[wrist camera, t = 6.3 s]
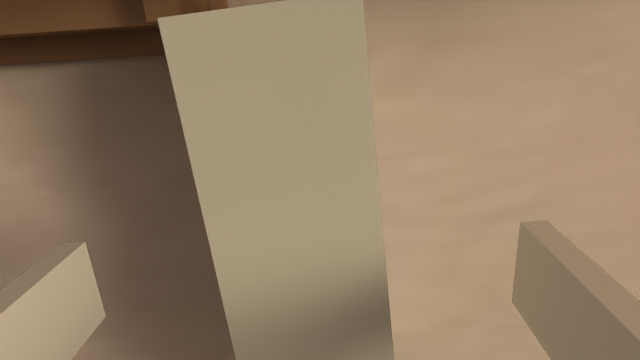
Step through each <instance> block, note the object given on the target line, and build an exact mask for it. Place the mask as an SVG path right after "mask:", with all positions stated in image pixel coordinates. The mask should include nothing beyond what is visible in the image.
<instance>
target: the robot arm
mask: <svg viewBox="0 0 640 360" xmlns="http://www.w3.org/2000/svg"><path fill="white" fill-rule="evenodd" d="M512 302H513V304H514V305H515V307H516V308H517V310H518V311H519V313H520V314H521V316H522V317H523V319H524V320H525V322H526V323H527V325H528V326H529V327H530V329H531V330H532V332H533V333H534V335H535V336H536V338H537V339H538V341H539V342H540V344H541V345H542V347H543V348H544V350H545V351H546V353H547V354H548V356H549V357H550V359H551V360H640V301H639V300H637V299H636V298H635V297H634V296H633V295H632V294H631V293H629V292H628V291H627V290H626V289H625V288H624V287H623V286H621V285H620V284H619V283H618V282H617V281H616V280H614V279H613V278H612V277H611V276H610V275H609V274H608V273H606V272H605V271H604V270H603V269H602V268H601V267H600V266H598V265H597V264H596V263H595V262H594V261H593V260H591V259H590V258H589V257H588V256H587V255H586V254H585V253H583V252H582V251H581V250H580V249H579V248H578V247H576V246H575V245H574V244H573V243H572V242H571V241H570V240H568V239H567V238H566V237H565V236H564V235H563V234H562V233H560V232H559V231H558V230H557V229H556V228H555V227H553V226H552V225H551V224H550V223H549V222H548V221H531V222H520V229H519V239H518V248H517V257H516V267H515V276H514V285H513V294H512ZM105 317H106V315H105V312H104V308H103V304H102V301H101V297H100V294H99V290H98V286H97V283H96V279H95V276H94V272H93V268H92V265H91V261H90V258H89V254H88V250H87V247H86V243H85V242H66V243H60V244H59V245H57V246H56V247H55V248H53V249H52V250H51V251H50V252H48V253H47V254H46V255H45V256H43V257H42V258H41V259H39V260H38V261H37V262H36V263H34V264H33V265H32V266H30V267H29V268H28V269H27V270H25V271H24V272H23V273H22V274H20V275H19V276H18V277H16V278H15V279H14V280H13V281H11V282H10V283H9V284H8V285H6V286H5V287H4V288H2V289H1V290H0V360H72V359H73V358H74V356H75V355H76V354H77V352H78V351H79V350H80V349H81V347H82V346H83V345H84V344H85V342H86V341H87V340H88V339H89V337H90V336H91V335H92V333H93V332H94V331H95V330H96V328H97V327H98V326H99V325H100V323H101V322H102V321H103V319H104V318H105Z"/></svg>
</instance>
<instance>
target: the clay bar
mask: <svg viewBox="0 0 640 360" xmlns="http://www.w3.org/2000/svg"><path fill="white" fill-rule="evenodd" d="M157 19H158V24H159V28H160V32H161V37H162V41H163V45H164V50H165V54H166V59H167V63H168V67H169V72H170V76H171V80H172V85H173V89H174V93H175V98H176V102H177V106H178V111H179V115H180V119H181V124H182V128H183V132H184V137H185V141H186V145H187V150H188V154H189V158H190V163H191V167H192V171H193V176H194V180H195V184H196V189H197V193H198V197H199V202H200V206H201V210H202V215H203V219H204V224H205V228H206V232H207V237H208V241H209V245H210V250H211V254H212V258H213V263H214V267H215V271H216V276H217V280H218V284H219V289H220V293H221V297H222V302H223V306H224V310H225V315H226V319H227V323H228V328H229V332H230V336H231V341H232V345H233V349H234V354H235V358H236V360H394V354H393V342H392V330H391V319H390V307H389V295H388V284H387V272H386V260H385V249H384V237H383V225H382V214H381V202H380V190H379V179H378V167H377V155H376V144H375V132H374V120H373V109H372V97H371V85H370V74H369V62H368V50H367V39H366V27H365V15H364V4H363V0H284V1H277V2H270V3H263V4H255V5H248V6H241V7H234V8H227V9H219V10H212V11H205V12H198V13H190V14H183V15H176V16H169V17H162V18H157Z"/></svg>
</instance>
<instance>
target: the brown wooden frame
mask: <svg viewBox="0 0 640 360" xmlns="http://www.w3.org/2000/svg"><path fill="white" fill-rule="evenodd" d="M219 9H227V0H0V65H3V64H19V63H34V62H50V61H66V60H82V59H97V58H113V57H129V56H144V55H160V54H165V50H164V45H163V41H162V37H161V32H160V28H159V24H158V19H157V18H162V17H169V16H176V15H183V14H190V13H198V12H205V11H212V10H219Z"/></svg>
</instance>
